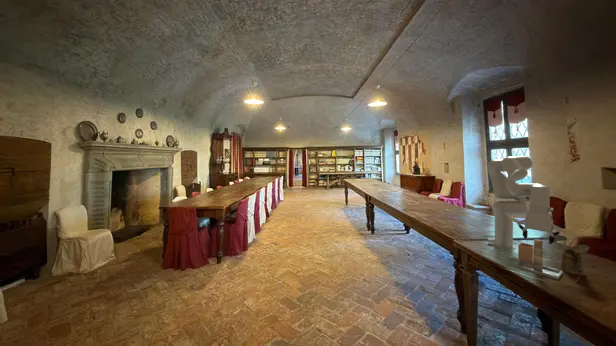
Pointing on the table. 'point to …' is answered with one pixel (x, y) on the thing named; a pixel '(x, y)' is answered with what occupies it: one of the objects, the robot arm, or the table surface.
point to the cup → (526, 252)
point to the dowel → (538, 254)
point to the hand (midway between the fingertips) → (537, 240)
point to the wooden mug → (574, 259)
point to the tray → (545, 271)
